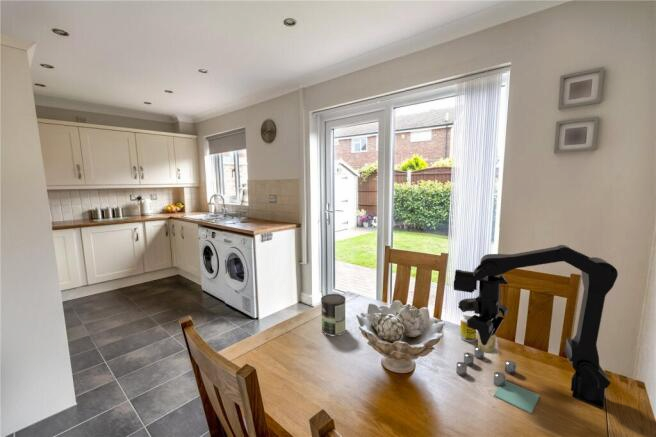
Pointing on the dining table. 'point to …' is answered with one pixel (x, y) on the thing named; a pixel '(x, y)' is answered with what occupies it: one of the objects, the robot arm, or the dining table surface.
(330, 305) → the coffee can
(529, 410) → the mat
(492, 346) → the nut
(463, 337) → the supplement bottle
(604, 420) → the dining table surface
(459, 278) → the robot arm
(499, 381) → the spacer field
